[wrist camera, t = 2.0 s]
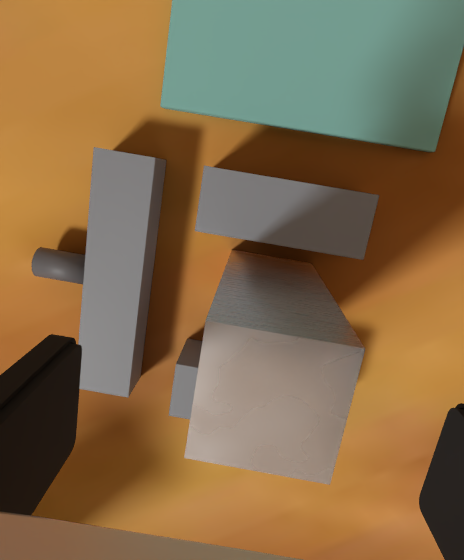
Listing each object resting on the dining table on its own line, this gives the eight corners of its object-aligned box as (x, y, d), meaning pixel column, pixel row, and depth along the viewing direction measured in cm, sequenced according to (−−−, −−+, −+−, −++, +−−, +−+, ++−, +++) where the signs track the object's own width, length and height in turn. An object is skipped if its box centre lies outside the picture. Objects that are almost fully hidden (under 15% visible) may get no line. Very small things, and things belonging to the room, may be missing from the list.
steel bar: (311, 263, 23) (364, 348, 12) (295, 337, 24) (330, 484, 13) (232, 249, 23) (205, 320, 12) (219, 324, 24) (184, 457, 13)
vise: (360, 192, 22) (379, 195, 19) (310, 407, 25) (318, 442, 22) (57, 141, 22) (21, 135, 19) (44, 359, 26) (11, 387, 22)
